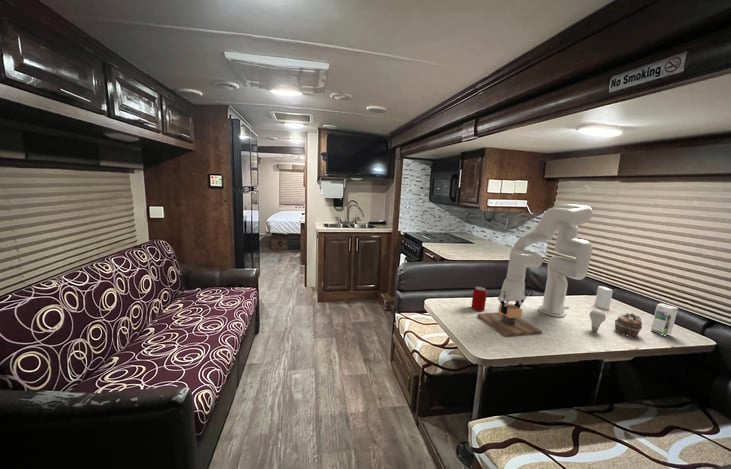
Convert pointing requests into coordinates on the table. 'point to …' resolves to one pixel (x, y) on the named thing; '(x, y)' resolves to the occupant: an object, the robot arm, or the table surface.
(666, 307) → the syrup box
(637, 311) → the table surface
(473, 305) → the beverage can
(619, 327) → the cupcake
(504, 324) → the post stand
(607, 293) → the skincare box
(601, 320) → the lightbulb
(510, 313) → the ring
